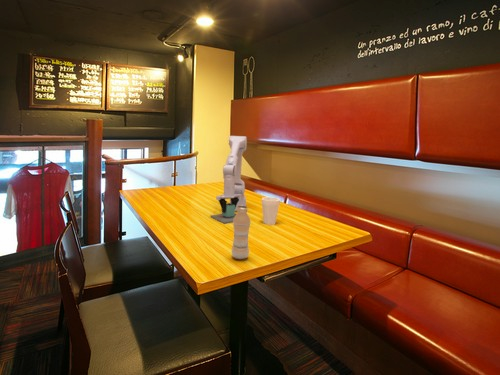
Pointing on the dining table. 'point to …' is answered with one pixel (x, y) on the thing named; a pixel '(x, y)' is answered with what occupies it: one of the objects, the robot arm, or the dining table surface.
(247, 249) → the plastic bottle
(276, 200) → the foam cup
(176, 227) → the dining table surface
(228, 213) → the sleeve
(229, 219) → the stub board
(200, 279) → the dining table surface
